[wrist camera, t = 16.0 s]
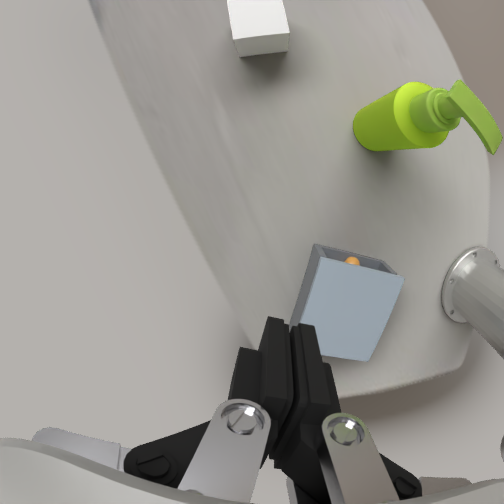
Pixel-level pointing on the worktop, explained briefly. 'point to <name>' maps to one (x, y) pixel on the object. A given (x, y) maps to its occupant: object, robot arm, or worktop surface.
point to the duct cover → (350, 307)
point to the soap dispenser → (423, 118)
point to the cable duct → (336, 255)
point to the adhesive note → (258, 26)
